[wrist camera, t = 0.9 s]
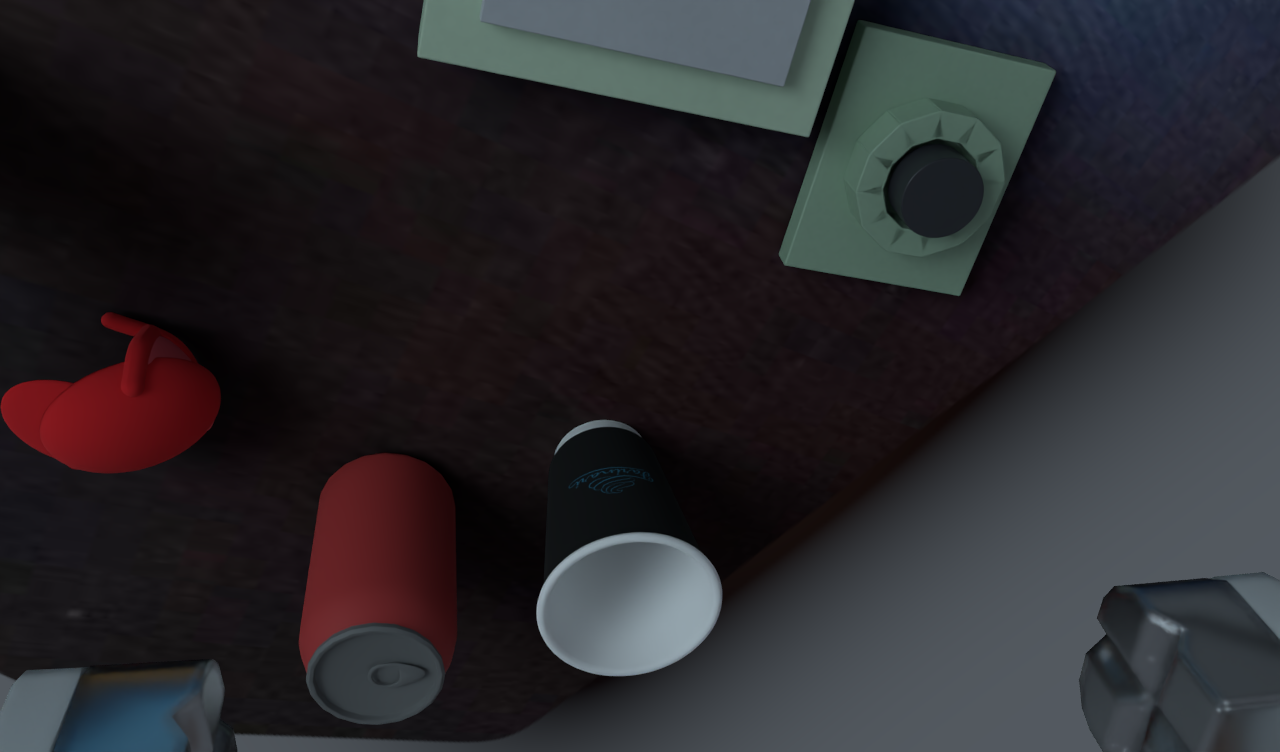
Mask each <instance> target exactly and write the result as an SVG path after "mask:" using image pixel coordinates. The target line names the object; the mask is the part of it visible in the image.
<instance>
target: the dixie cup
mask: <svg viewBox="0 0 1280 752" xmlns="http://www.w3.org/2000/svg"><path fill="white" fill-rule="evenodd" d="M721 605H722V586H721V582H720V578H719V576H718V573H717V571H716V569H715V568H714V566H713V565H712V563H711V562H710V561H709V559H708V558H707V557H706V556H705V555H704V554H703V553H702V552H701V551H700V549H699V546H698V544H697V542H696V540H695V538H694V536H693V534H692V532H691V529H690V527H689V525H688V523H687V521H686V519H685V517H684V515H683V512H682V510H681V508H680V506H679V504H678V502H677V500H676V498H675V496H674V493H673V491H672V489H671V487H670V485H669V483H668V481H667V479H666V476H665V474H664V472H663V470H662V468H661V466H660V464H659V462H658V459H657V457H656V455H655V453H654V451H653V449H652V448H651V446H650V445H649V444H648V443H647V442H646V441H645V440H644V439H643V438H642V437H641V436H640V434H639V433H638V432H637V431H636V430H634V429H633V428H632V427H630V426H628V425H626V424H624V423H621V422H617V421H612V420H597V421H592V422H588V423H585V424H582V425H580V426H578V427H576V428H574V429H573V430H572V431H570V432H569V433H568V434H567V435H566V436H565V437H564V438H563V439H562V440H561V442H560V443H559V445H558V447H557V449H556V451H555V455H554V457H553V459H552V462H551V465H550V469H549V482H548V503H547V525H546V546H545V567H544V585H543V587H542V589H541V592H540V595H539V598H538V603H537V612H536V615H537V623H538V628H539V630H540V633H541V635H542V637H543V639H544V641H545V643H546V644H547V646H548V647H549V648H550V649H551V650H552V652H553V653H554V654H555V655H557V656H558V657H559V658H560V659H562V660H563V661H564V662H566V663H568V664H569V665H571V666H573V667H576V668H578V669H580V670H583V671H586V672H590V673H594V674H599V675H607V676H629V675H638V674H643V673H648V672H651V671H655V670H658V669H661V668H663V667H666V666H668V665H670V664H672V663H674V662H676V661H678V660H680V659H681V658H683V657H684V656H686V655H687V654H689V653H690V652H692V651H693V650H694V649H695V648H696V647H698V645H700V644H701V643H702V642H703V640H704V639H705V638H706V637H707V636H708V635H709V633H710V632H711V630H712V629H713V627H714V625H715V623H716V621H717V619H718V616H719V613H720V610H721Z"/></svg>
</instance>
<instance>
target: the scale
mask: <svg viewBox="0 0 1280 752" xmlns="http://www.w3.org/2000/svg"><path fill="white" fill-rule="evenodd" d="M854 1H855V0H424V4H423V10H422V16H421V23H420V29H419V37H418V52H417V55H418V57H419V58H424V59H429V60H434V61H439V62H444V63H449V64H453V65H458V66H463V67H468V68H473V69H478V70H483V71H487V72H492V73H497V74H502V75H507V76H512V77H517V78H522V79H526V80H531V81H536V82H541V83H546V84H551V85H556V86H560V87H565V88H570V89H575V90H580V91H585V92H590V93H594V94H599V95H604V96H609V97H614V98H619V99H624V100H629V101H633V102H638V103H643V104H648V105H653V106H658V107H663V108H667V109H672V110H677V111H682V112H687V113H692V114H697V115H701V116H706V117H711V118H716V119H721V120H726V121H731V122H736V123H740V124H745V125H750V126H755V127H760V128H765V129H770V130H774V131H779V132H784V133H789V134H794V135H799V136H804V137H809V136H810V133H811V130H812V127H813V124H814V121H815V118H816V115H817V112H818V109H819V106H820V103H821V100H822V97H823V94H824V91H825V88H826V85H827V82H828V79H829V76H830V73H831V70H832V67H833V64H834V61H835V58H836V55H837V52H838V49H839V46H840V43H841V40H842V37H843V34H844V31H845V28H846V25H847V22H848V19H849V16H850V13H851V10H852V7H853V4H854Z"/></svg>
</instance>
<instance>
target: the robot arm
mask: <svg viewBox="0 0 1280 752" xmlns="http://www.w3.org/2000/svg"><path fill="white" fill-rule="evenodd" d="M1097 619H1098V621H1099V622H1100V624H1101V626H1102V627H1103V629H1104V631H1105V632H1106V635H1105V636H1104V637H1103V638H1102V639H1101V640H1100V641H1099V642H1098V643H1097V644H1095V645H1094V646H1093V647H1092V648H1091V649H1090V650H1089V651H1088V652H1087V653H1086V655H1085V659H1084V663H1083V667H1082V671H1081V675H1080V679H1079V682H1080V692H1081V703H1082V709H1083V712H1084V715H1085V718H1086V721H1087V723H1088V726H1089V729H1090V731H1091V732H1092V734H1093V736H1094V738H1095V739H1096V741H1097V743H1098V744H1099V746H1100V748H1101V749H1102V751H1103V752H1280V581H1279V580H1278V579H1276V578H1274V577H1272V576H1270V575H1268V574H1266V573H1264V572H1261V573H1250V574H1240V575H1229V576H1218V577H1213V578H1211V579H1208V578H1201V579H1190V580H1179V581H1168V582H1157V583H1146V584H1134V585H1123V586H1114V587H1113V588H1112V589H1111V590H1110V591H1109V593H1108V594H1107V595H1106V596H1105V597H1104V598H1103V601H1102V604H1101V607H1100V610H1099V613H1098V616H1097ZM224 695H225V688H224V684H223V681H222V677H221V673H220V669H219V665H218V663H217V662H216V661H214V660H212V659H200V660H182V661H165V662H147V663H129V664H112V665H94V666H90V667H88V668H67V669H47V670H27V671H26V672H25V673H24V674H23V675H22V676H21V677H19V678H18V679H17V680H16V681H15V683H14V684H13V685H12V687H11V689H10V691H9V694H8V696H7V698H6V700H5V702H4V705H3V707H2V709H1V712H0V752H237V746H236V741H235V736H234V730H233V728H232V727H230V726H229V725H228V724H226V723H225V722H224V721H222V720H221V719H220V714H221V709H222V704H223V700H224Z"/></svg>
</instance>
